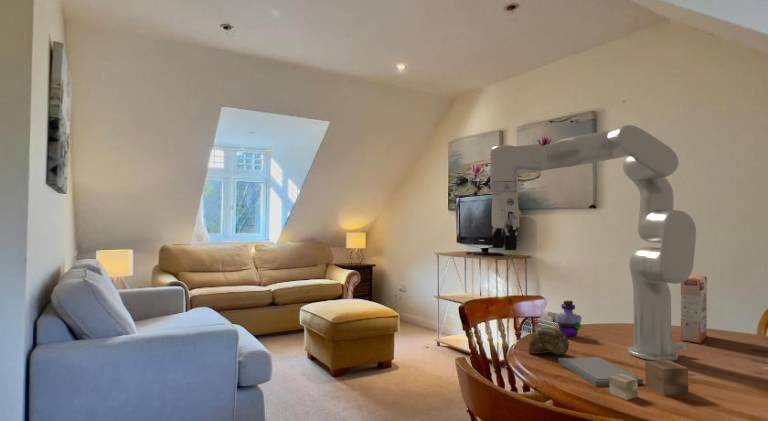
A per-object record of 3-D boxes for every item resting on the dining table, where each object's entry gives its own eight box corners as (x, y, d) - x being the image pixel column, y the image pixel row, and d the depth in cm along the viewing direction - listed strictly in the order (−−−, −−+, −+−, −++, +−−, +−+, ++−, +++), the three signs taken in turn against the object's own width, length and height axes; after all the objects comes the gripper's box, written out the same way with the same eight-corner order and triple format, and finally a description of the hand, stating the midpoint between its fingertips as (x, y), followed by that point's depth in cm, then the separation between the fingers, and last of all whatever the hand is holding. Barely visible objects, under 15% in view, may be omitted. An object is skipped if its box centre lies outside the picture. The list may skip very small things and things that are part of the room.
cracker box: (702, 344, 144) (701, 279, 145) (680, 340, 148) (679, 277, 149) (708, 336, 154) (707, 275, 155) (687, 333, 158) (686, 274, 159)
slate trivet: (599, 361, 126) (599, 356, 126) (642, 384, 108) (642, 378, 108) (558, 362, 124) (558, 357, 124) (595, 385, 106) (595, 380, 106)
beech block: (621, 391, 103) (621, 373, 104) (637, 397, 100) (637, 379, 100) (609, 394, 102) (609, 376, 102) (625, 400, 98) (625, 381, 98)
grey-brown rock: (572, 354, 133) (572, 326, 133) (564, 361, 125) (563, 333, 125) (534, 347, 139) (534, 321, 140) (524, 354, 132) (523, 327, 132)
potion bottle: (579, 340, 148) (579, 304, 148) (552, 336, 153) (552, 301, 153) (584, 335, 155) (583, 300, 156) (558, 331, 160) (557, 297, 160)
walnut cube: (669, 385, 107) (668, 360, 107) (688, 395, 101) (688, 368, 101) (645, 386, 107) (645, 360, 107) (663, 395, 101) (663, 368, 101)
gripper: (529, 186, 120) (529, 250, 120) (505, 191, 137) (505, 247, 137) (502, 186, 119) (502, 250, 119) (481, 191, 136) (481, 247, 136)
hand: (504, 249), depth 128 cm, fingers open, 9 cm apart
